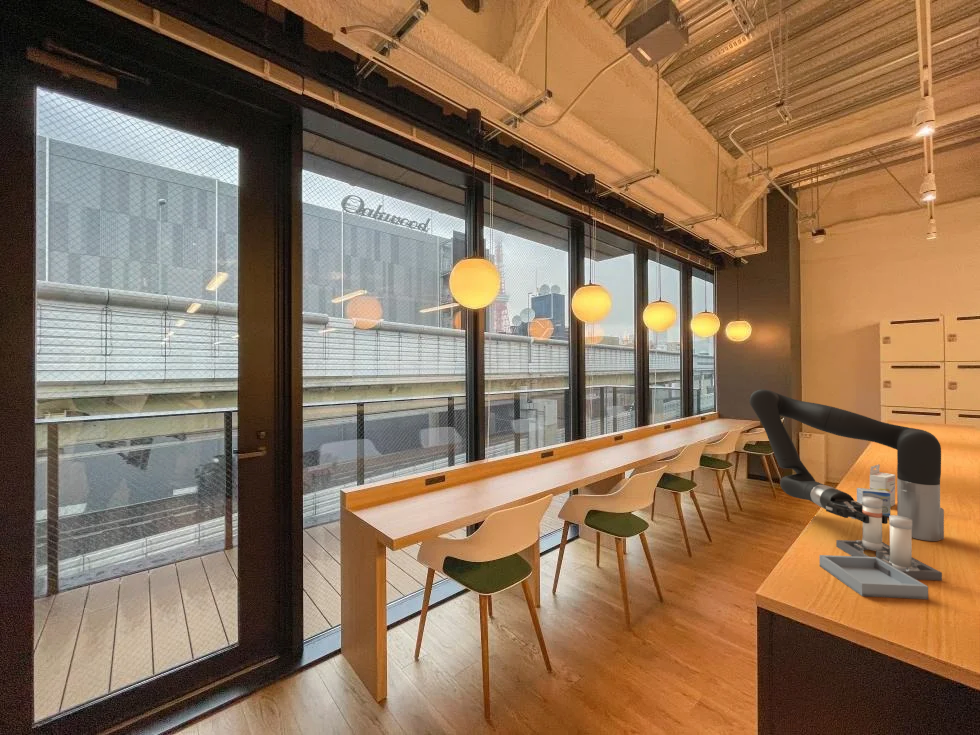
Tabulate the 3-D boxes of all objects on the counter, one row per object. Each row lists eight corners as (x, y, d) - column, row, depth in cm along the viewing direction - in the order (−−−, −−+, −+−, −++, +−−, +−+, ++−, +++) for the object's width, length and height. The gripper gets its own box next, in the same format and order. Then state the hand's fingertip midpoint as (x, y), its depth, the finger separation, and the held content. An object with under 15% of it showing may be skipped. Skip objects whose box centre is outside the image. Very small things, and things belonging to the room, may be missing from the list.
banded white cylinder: (874, 544, 115) (873, 496, 115) (887, 551, 111) (886, 501, 111) (858, 544, 116) (858, 496, 115) (870, 550, 111) (870, 501, 111)
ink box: (886, 509, 148) (886, 469, 148) (869, 504, 152) (869, 466, 152) (896, 505, 152) (896, 466, 152) (878, 501, 156) (878, 463, 156)
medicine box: (862, 514, 143) (862, 490, 143) (856, 510, 147) (856, 487, 147) (891, 517, 140) (890, 493, 140) (884, 513, 144) (884, 489, 144)
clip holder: (881, 548, 117) (881, 539, 117) (941, 580, 100) (942, 570, 100) (836, 546, 119) (836, 538, 118) (888, 578, 101) (888, 568, 101)
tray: (876, 568, 106) (876, 557, 106) (928, 599, 92) (928, 586, 92) (819, 566, 108) (819, 555, 107) (862, 596, 94) (862, 583, 94)
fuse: (902, 567, 106) (902, 515, 106) (917, 575, 102) (917, 521, 102) (884, 566, 107) (884, 515, 107) (898, 575, 103) (899, 521, 102)
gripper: (807, 487, 129) (849, 506, 112) (855, 488, 128) (905, 507, 111) (807, 510, 129) (849, 532, 112) (855, 511, 128) (905, 534, 111)
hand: (876, 520), depth 112 cm, fingers closed on banded white cylinder, 4 cm apart
